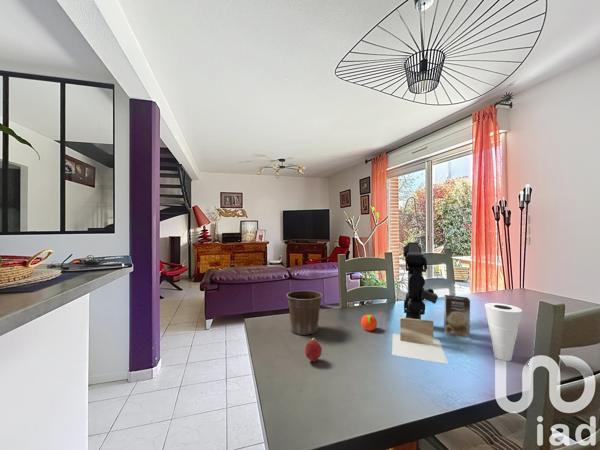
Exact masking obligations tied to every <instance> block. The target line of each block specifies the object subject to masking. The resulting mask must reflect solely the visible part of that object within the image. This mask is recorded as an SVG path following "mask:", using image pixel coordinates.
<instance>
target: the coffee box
mask: <svg viewBox="0 0 600 450" xmlns="http://www.w3.org/2000/svg"><path fill="white" fill-rule="evenodd" d="M443 314H444V316H443V317H444V318H443V319H444V321H443V322H444V324H443V331H444V334H445V335H448V336H449V335H450V336H455V337H462V338H467V339H470V334H471V333H470V332H471V330H470V329H471V326H470V325H471V324H470V323H471V322H470V321H471V319H470V318H471V300H470V298H468V297H467V296H466V297H465V296H460V295H459V296H457V295H451V294H449V295H448V294H444V313H443Z"/></svg>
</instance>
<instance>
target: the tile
mask: <svg viewBox="0 0 600 450" xmlns="http://www.w3.org/2000/svg"><path fill="white" fill-rule="evenodd" d="M399 324H400V325H399V330H400V332H399V334H400V341H406V342H413V343H420V344H427V345H433V339H434V321H433V320H427V319H421V320H420V319H411V318H406V317H401V316H400V317H399Z"/></svg>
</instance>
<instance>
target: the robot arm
mask: <svg viewBox="0 0 600 450" xmlns="http://www.w3.org/2000/svg"><path fill="white" fill-rule="evenodd" d="M402 252H403V255H402V256H403V257H404V262H405V272H407V292H406V294H405V299H403V313H404V314H405V318H411V319H420V320H422V316H423V315H425V314H426V303H425V302H424V301H428V302H431V303H432V304H433V305H434V304H435V305H436V303H437V301H438V298H439V296H438V294H436V293H435V292H434V291H435V290H434V289H432V288H428V289H424V288H425V287H424V286H425V285H426V280H425V278H424V276H423V273H427V270H428V260H427V259H426V257H425V256H424V254H423V252H422V247H421V246H420V245H419V243H418V242H415V241H413V242H412V241H408V242H407V244H406V245H405V246H403V251H402Z"/></svg>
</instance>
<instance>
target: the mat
mask: <svg viewBox="0 0 600 450" xmlns="http://www.w3.org/2000/svg"><path fill="white" fill-rule="evenodd" d="M391 342H392V344H391V345H392V347H391V355H392V356H398V357H402V358H409V359H415V360H422V361H427V362H434V363H438V364H440V363H441V364H446V365H448V364H449V362H448V359H447V357H446V354H445V351H444V348H443V345H442V343H441V340H440V339H437V338H433V345H427V344H420V343H413V342H406V341H400V333H392V341H391Z"/></svg>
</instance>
